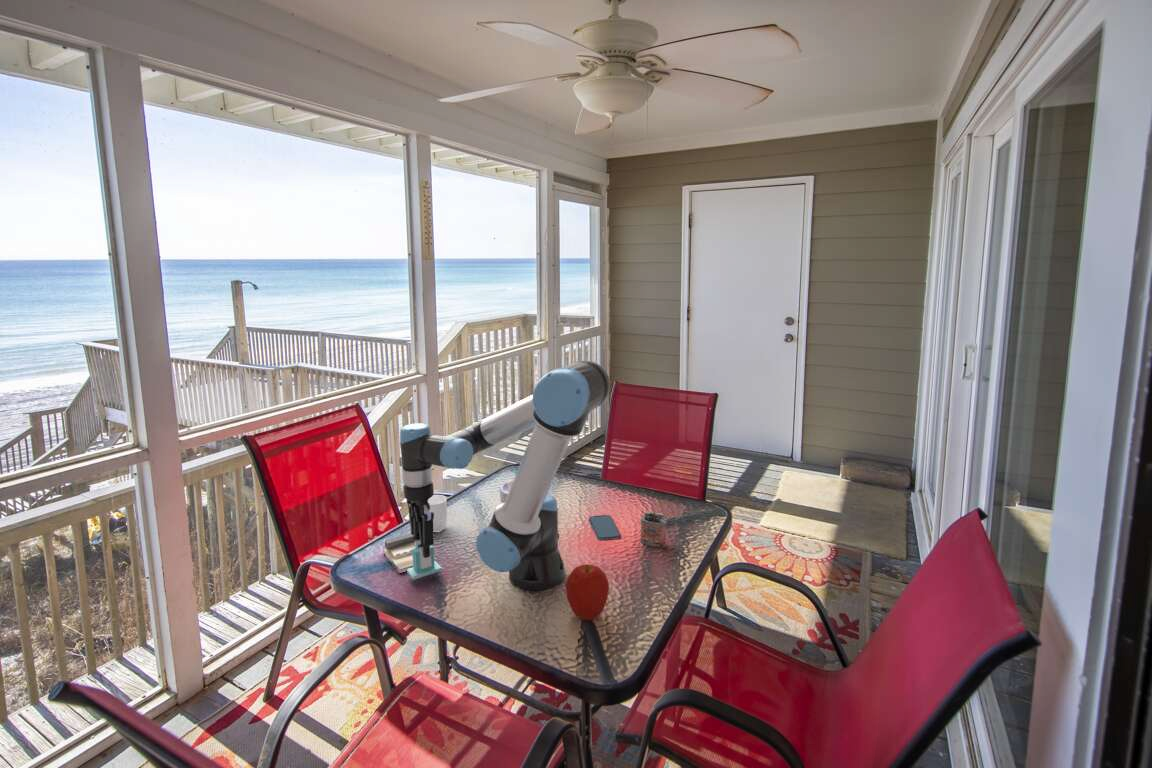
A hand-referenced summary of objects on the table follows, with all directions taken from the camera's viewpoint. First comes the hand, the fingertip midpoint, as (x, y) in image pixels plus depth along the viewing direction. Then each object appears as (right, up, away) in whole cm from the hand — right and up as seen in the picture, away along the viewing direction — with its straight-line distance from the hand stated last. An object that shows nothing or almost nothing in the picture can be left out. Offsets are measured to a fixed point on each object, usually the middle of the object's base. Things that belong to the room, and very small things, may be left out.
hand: (423, 564), depth 159 cm
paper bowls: (+22, +6, +46) cm, 51 cm away
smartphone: (+50, +2, +29) cm, 58 cm away
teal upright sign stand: (0, -2, 0) cm, 2 cm away
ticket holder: (-7, -2, +11) cm, 13 cm away
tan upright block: (+64, 0, +19) cm, 67 cm away
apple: (+44, -7, -17) cm, 48 cm away
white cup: (-4, +2, +30) cm, 30 cm away
